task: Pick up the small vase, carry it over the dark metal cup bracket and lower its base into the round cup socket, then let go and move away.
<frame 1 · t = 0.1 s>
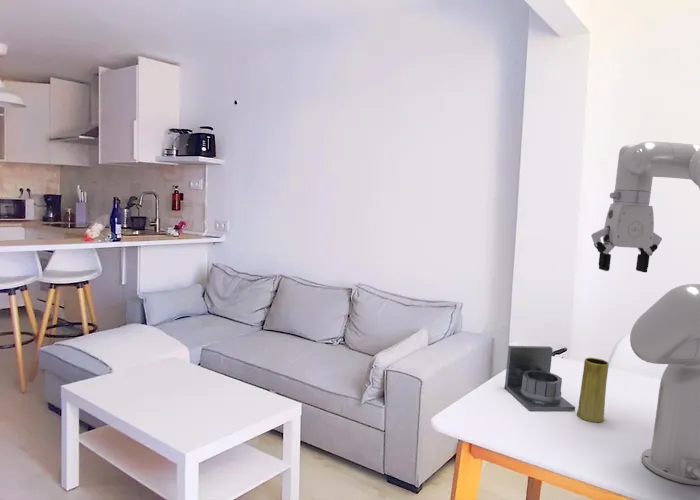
hand: (622, 270, 127), 37 cm above the table, tool pointing down, fingers open, 9 cm apart
cup bracket: (539, 400, 139), on the table
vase: (589, 417, 131), on the table
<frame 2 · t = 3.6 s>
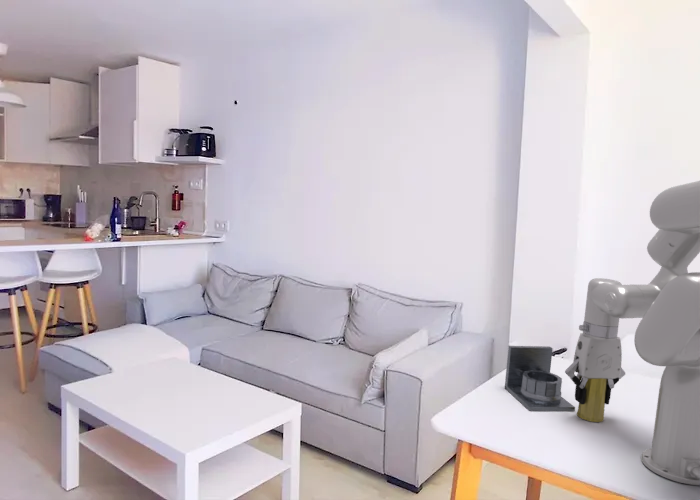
hand: (591, 401, 130), 4 cm above the table, tool pointing down, fingers closed on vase, 5 cm apart
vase: (589, 417, 131), on the table, touching gripper
when the fingers open (8 cm above the table, at t = 8.4 s): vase drops 1 cm, resting on cup bracket.
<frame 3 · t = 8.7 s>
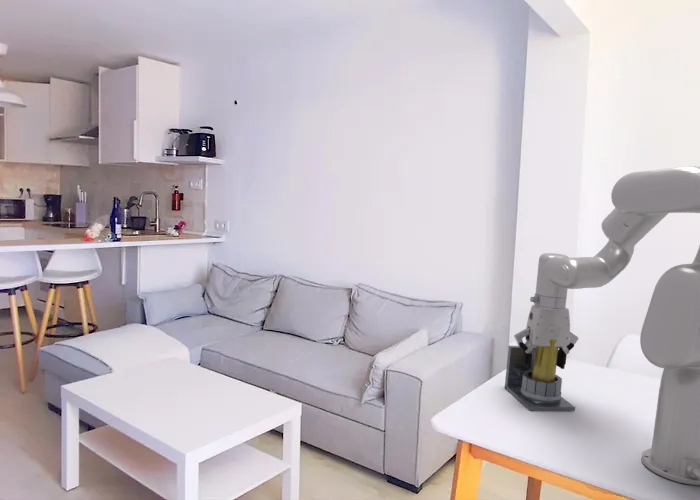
hand: (543, 366, 138), 9 cm above the table, tool pointing down, fingers open, 8 cm apart
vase: (541, 390, 139), point 3 cm above the table, touching cup bracket
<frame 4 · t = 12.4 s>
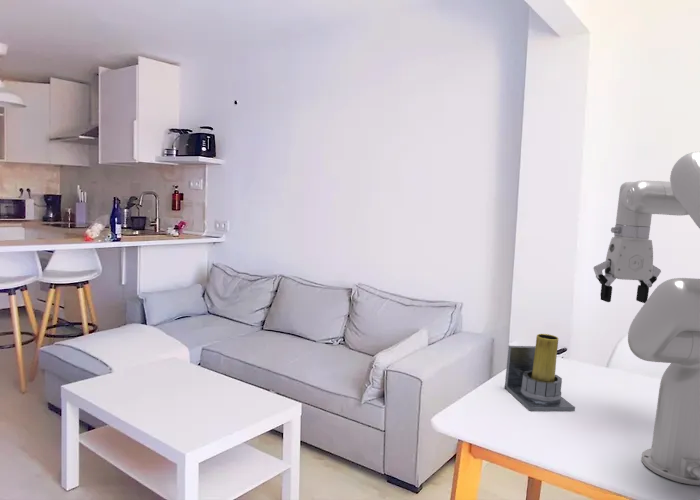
hand: (623, 301, 132), 28 cm above the table, tool pointing down, fingers open, 9 cm apart
nothing on the table moved.
at the end: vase 0.1 cm off-centre on the cup bracket, point 2.8 cm above the cup bracket's base; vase tilted 0°; the gripper is holding nothing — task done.
